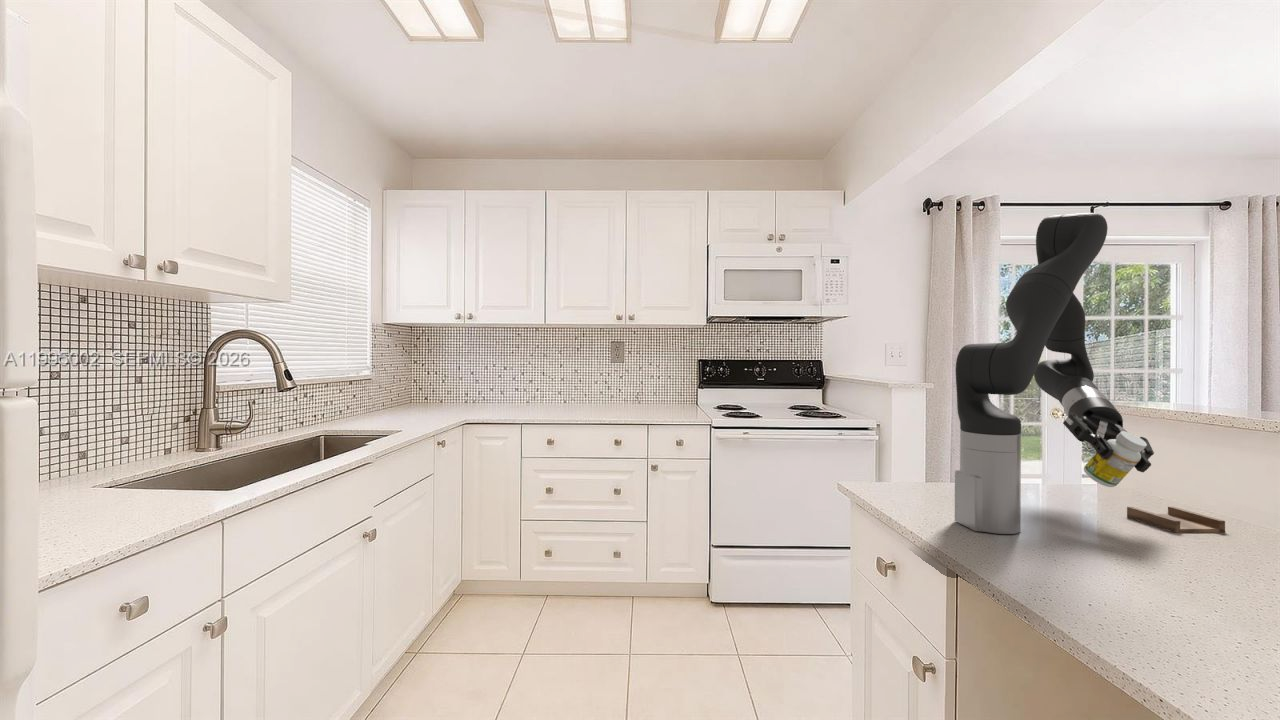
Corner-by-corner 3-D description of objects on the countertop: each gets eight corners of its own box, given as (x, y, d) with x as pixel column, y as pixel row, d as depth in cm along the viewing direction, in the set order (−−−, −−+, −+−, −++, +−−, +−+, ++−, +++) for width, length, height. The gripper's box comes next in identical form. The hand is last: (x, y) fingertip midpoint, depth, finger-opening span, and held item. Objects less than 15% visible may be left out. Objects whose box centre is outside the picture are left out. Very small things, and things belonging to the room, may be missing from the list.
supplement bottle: (1115, 492, 96) (1152, 453, 91) (1081, 475, 98) (1116, 436, 93) (1115, 479, 100) (1151, 440, 95) (1082, 463, 102) (1116, 424, 97)
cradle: (1174, 532, 93) (1174, 521, 93) (1126, 517, 102) (1127, 506, 102) (1225, 532, 94) (1225, 520, 94) (1172, 516, 103) (1173, 506, 103)
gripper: (1064, 384, 107) (1096, 430, 93) (1141, 410, 105) (1187, 461, 91) (1041, 413, 111) (1069, 462, 97) (1116, 438, 109) (1156, 492, 94)
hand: (1126, 461), depth 94 cm, fingers closed on supplement bottle, 5 cm apart
